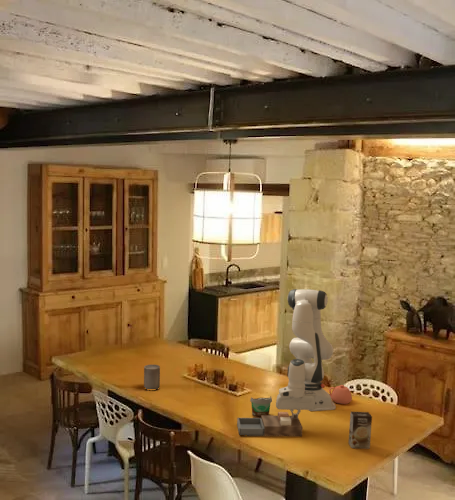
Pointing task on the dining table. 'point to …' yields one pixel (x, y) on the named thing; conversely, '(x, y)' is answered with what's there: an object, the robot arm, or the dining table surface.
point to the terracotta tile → (283, 414)
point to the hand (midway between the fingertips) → (295, 417)
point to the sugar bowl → (340, 394)
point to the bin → (250, 426)
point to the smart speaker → (152, 376)
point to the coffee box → (360, 430)
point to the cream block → (285, 421)
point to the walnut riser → (281, 426)
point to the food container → (260, 406)
